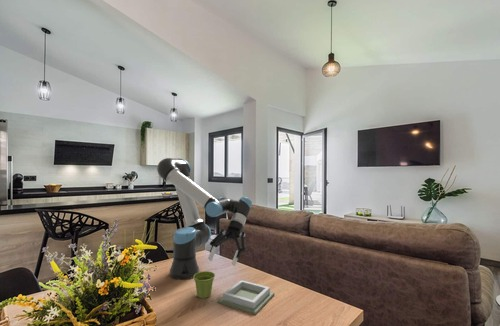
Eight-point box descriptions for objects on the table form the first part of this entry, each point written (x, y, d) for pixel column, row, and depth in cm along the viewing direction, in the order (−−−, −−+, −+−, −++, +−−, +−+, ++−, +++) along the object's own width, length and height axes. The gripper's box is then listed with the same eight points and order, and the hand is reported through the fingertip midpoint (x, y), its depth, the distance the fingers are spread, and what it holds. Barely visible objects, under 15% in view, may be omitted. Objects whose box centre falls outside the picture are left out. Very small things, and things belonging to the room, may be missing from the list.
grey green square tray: (217, 302, 108) (217, 294, 108) (240, 285, 124) (240, 278, 124) (255, 314, 99) (255, 305, 99) (274, 294, 115) (274, 286, 115)
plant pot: (210, 301, 109) (210, 281, 109) (189, 299, 111) (189, 278, 111) (217, 291, 118) (217, 272, 118) (198, 289, 120) (198, 270, 120)
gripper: (260, 230, 132) (247, 270, 119) (220, 225, 143) (203, 261, 130) (255, 221, 127) (241, 262, 114) (214, 217, 139) (196, 254, 126)
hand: (221, 262), depth 122 cm, fingers open, 13 cm apart
